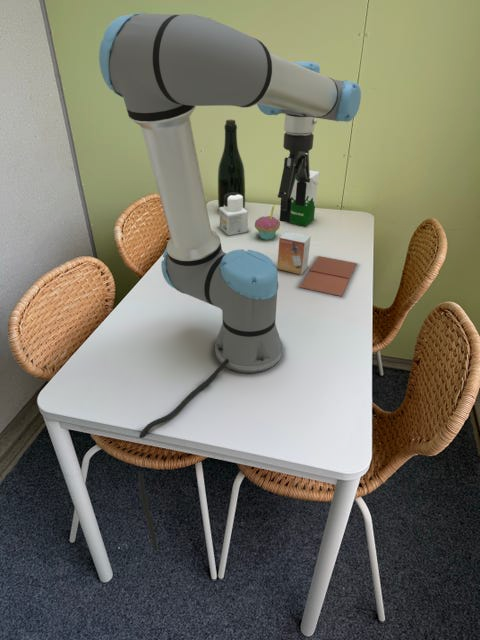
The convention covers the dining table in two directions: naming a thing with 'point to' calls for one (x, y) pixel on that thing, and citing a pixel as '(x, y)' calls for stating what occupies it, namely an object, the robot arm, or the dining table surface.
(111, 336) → the dining table surface
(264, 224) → the cupcake
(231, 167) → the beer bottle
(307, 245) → the small box
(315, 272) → the napkin
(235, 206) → the container
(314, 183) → the milk carton
